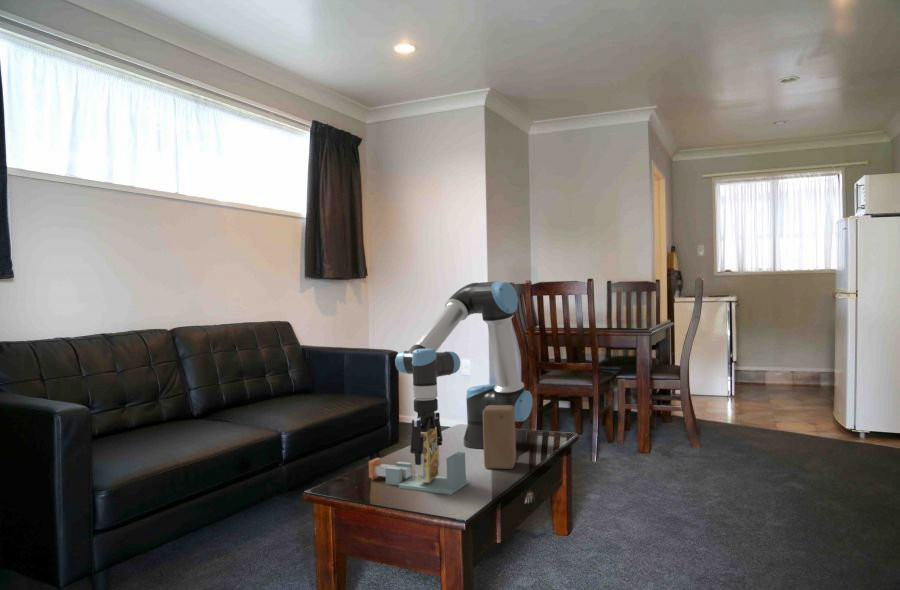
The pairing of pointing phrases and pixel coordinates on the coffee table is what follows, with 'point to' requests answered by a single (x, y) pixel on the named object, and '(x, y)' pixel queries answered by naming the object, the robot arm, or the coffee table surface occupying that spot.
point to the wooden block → (499, 437)
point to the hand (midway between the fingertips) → (427, 470)
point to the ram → (379, 469)
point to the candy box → (429, 455)
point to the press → (438, 484)
